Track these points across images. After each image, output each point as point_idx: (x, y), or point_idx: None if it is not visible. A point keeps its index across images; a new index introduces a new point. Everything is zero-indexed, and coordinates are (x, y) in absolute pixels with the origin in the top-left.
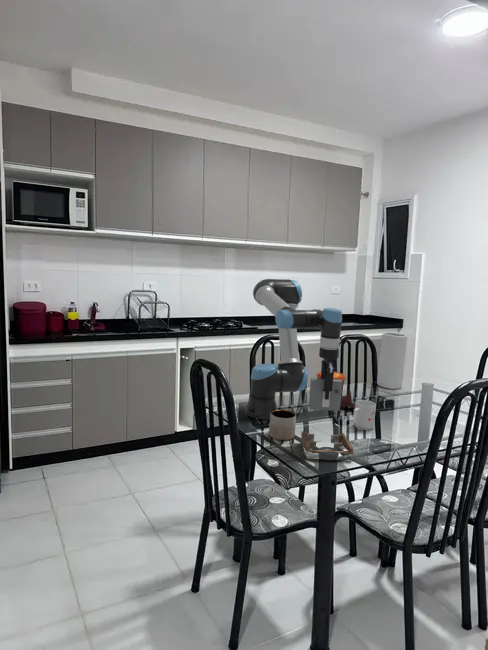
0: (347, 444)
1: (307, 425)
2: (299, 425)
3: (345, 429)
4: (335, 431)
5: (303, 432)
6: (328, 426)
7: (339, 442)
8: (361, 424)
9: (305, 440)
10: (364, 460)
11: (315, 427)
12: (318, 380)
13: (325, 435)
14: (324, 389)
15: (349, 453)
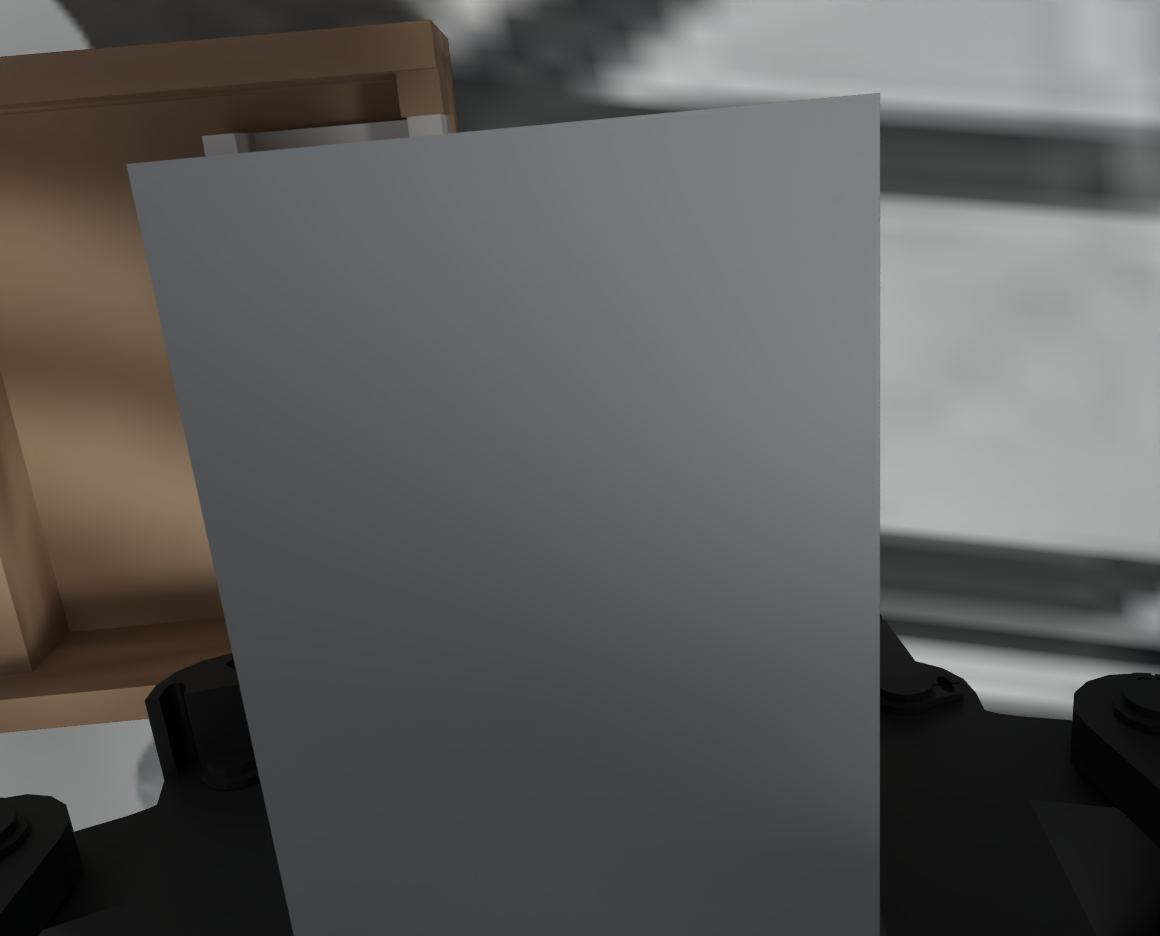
0: (140, 680)
1: (1133, 196)
2: (1128, 65)
3: (1017, 696)
4: (939, 568)
5: (379, 49)
6: (1108, 497)
7: None
8: None
9: (29, 59)
10: (138, 779)
11: (1061, 312)
12: (285, 710)
13: None
14: (199, 781)
15: (1, 662)
